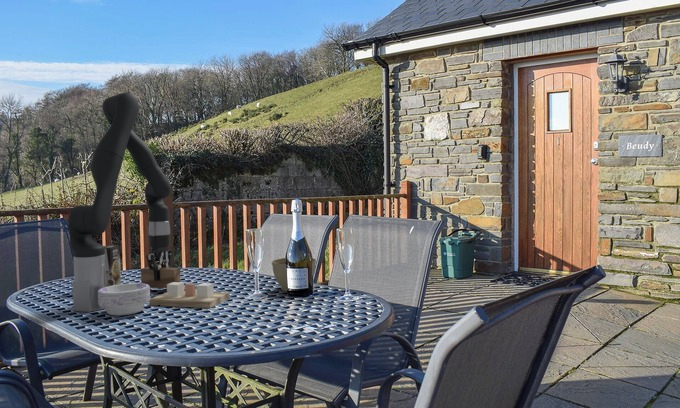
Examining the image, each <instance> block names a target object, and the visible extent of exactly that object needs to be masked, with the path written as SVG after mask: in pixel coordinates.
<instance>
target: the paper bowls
mask: <svg viewBox="0 0 680 408" xmlns="http://www.w3.org/2000/svg"><path fill="white" fill-rule="evenodd" d="M150 299H151V288H150V286H149V285H148V284H144V283H141V282H135V283H134V282H132V283H131V282H130V283H121V284H119V285H113V286H108V287H104V288H102V289H100V290H98V304H99V306H100V307H103V308H104V311H105V312H106V313H107V314H108V315H110V316H129V315H134V314H139V312H141V311H143V310H144V308H145V305H146V303H148V302H149V301H150Z"/></svg>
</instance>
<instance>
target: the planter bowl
mask: <svg viewBox="0 0 680 408" xmlns="http://www.w3.org/2000/svg"><path fill="white" fill-rule="evenodd" d="M286 258H287V257H282V258H277V259H274V260H271V265H272V272H273V275H274V278H275V280H276V283H278V284H279V285H278V286H280V288H281V290H282V291H283V292H287V279H286V264H285V259H286ZM311 258H312V260H313V262H312V276H313V277H314V275H315V272H316V263H317V259H316V258H314V257H311Z"/></svg>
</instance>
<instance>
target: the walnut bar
mask: <svg viewBox="0 0 680 408" xmlns="http://www.w3.org/2000/svg"><path fill="white" fill-rule="evenodd" d="M159 271H160V281H154V271H153V270H150V269H149V266H146V267H142V268H140V280H141V281H140V283H144V284H148V285H149V286H150V289H167V284H169V283H172V282H181V280H182V279H181V267H168V268H163V267H161V266H160V270H159Z"/></svg>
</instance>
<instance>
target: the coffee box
mask: <svg viewBox="0 0 680 408" xmlns="http://www.w3.org/2000/svg"><path fill="white" fill-rule="evenodd" d="M103 246H104V249H105V272H106V287H108V286H113V285H119V284H122V276H121V254H120V253H121V252H120V251H121V249H120V245H118V244H117V245H116V244H115V245H103Z"/></svg>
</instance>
